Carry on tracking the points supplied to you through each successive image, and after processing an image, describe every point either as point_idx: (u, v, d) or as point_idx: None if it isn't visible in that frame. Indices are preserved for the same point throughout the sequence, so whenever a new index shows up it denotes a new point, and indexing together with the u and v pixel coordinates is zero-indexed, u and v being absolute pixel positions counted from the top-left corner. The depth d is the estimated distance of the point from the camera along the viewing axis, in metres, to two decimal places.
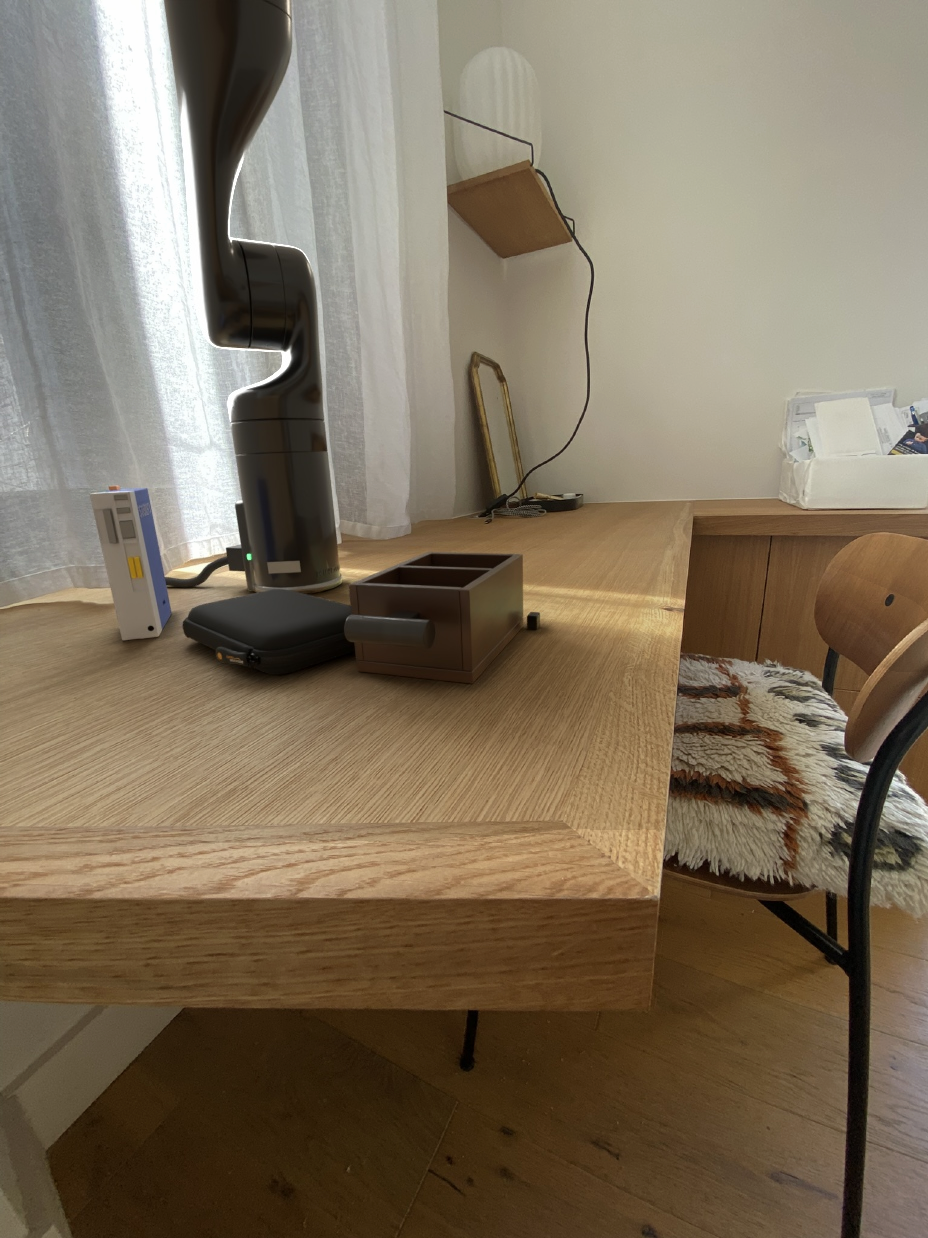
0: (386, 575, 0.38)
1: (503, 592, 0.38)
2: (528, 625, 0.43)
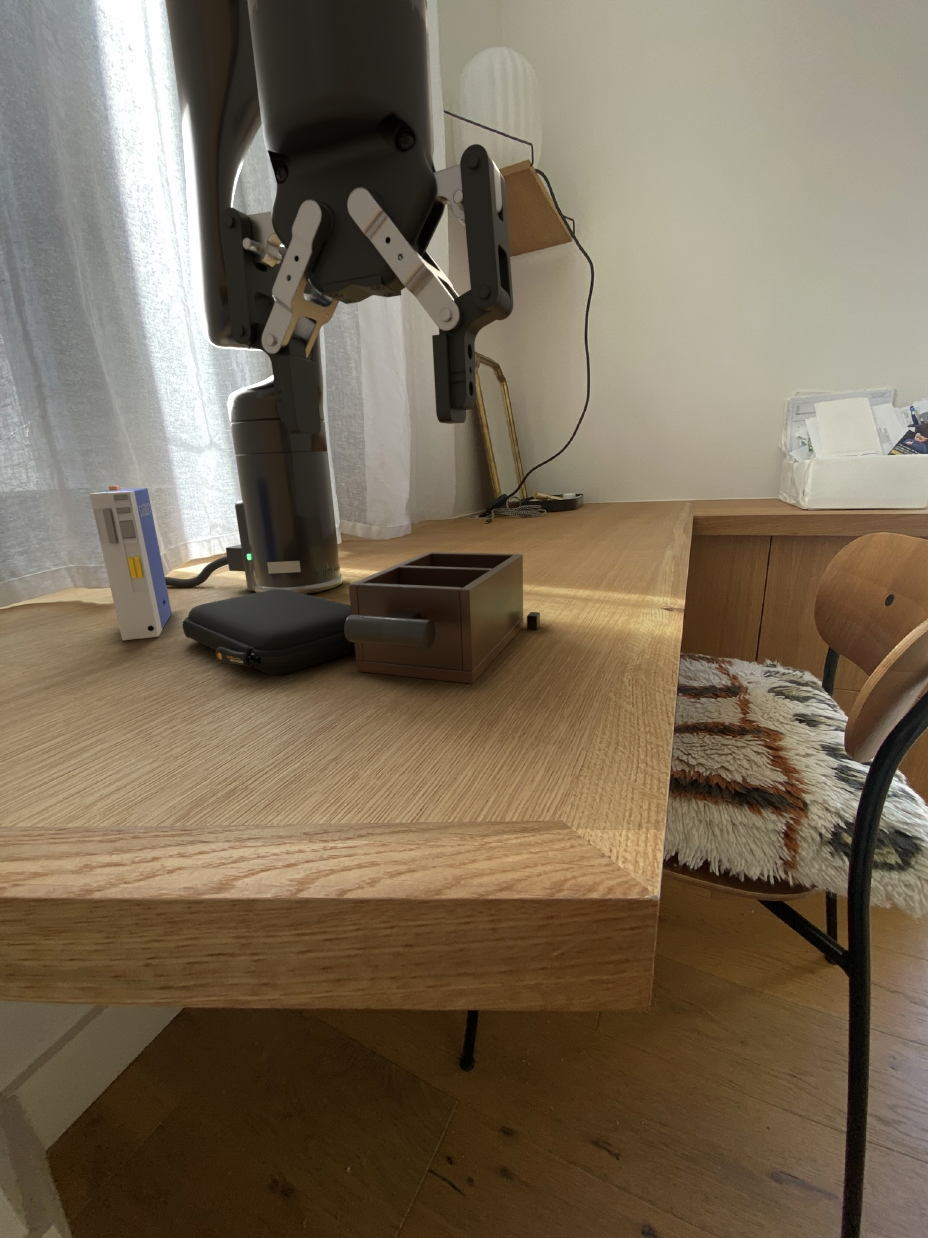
0: (386, 575, 0.38)
1: (503, 592, 0.38)
2: (528, 625, 0.43)
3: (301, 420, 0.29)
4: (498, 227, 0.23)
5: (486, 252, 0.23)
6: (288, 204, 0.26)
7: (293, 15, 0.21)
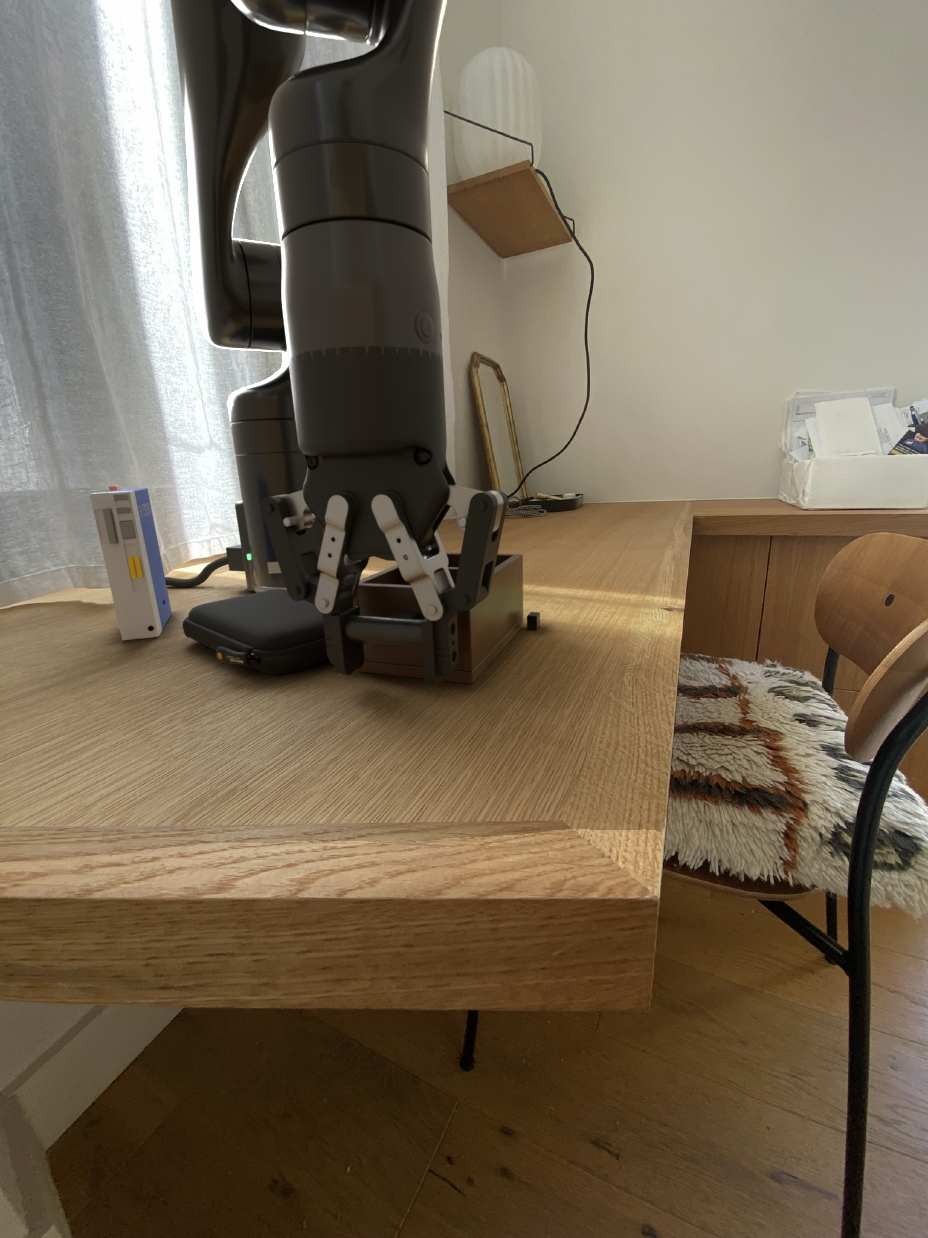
0: (386, 575, 0.38)
1: (503, 592, 0.38)
2: (528, 625, 0.43)
3: (348, 664, 0.32)
4: (489, 551, 0.28)
5: (473, 573, 0.27)
6: (316, 486, 0.29)
7: (328, 379, 0.24)
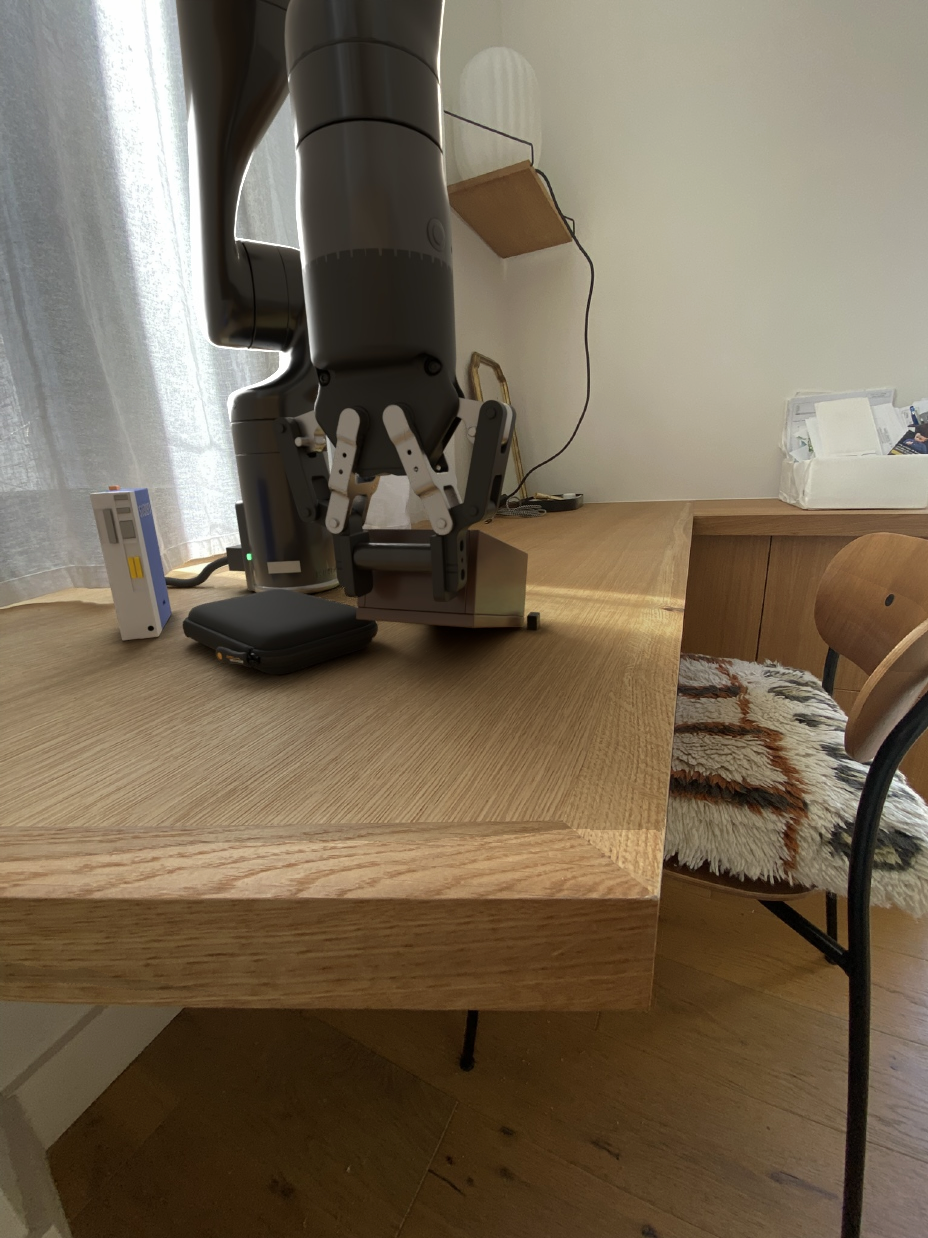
0: None
1: (508, 569, 0.39)
2: (528, 625, 0.43)
3: (358, 586, 0.33)
4: (498, 462, 0.28)
5: (482, 482, 0.28)
6: (328, 403, 0.30)
7: (342, 282, 0.25)
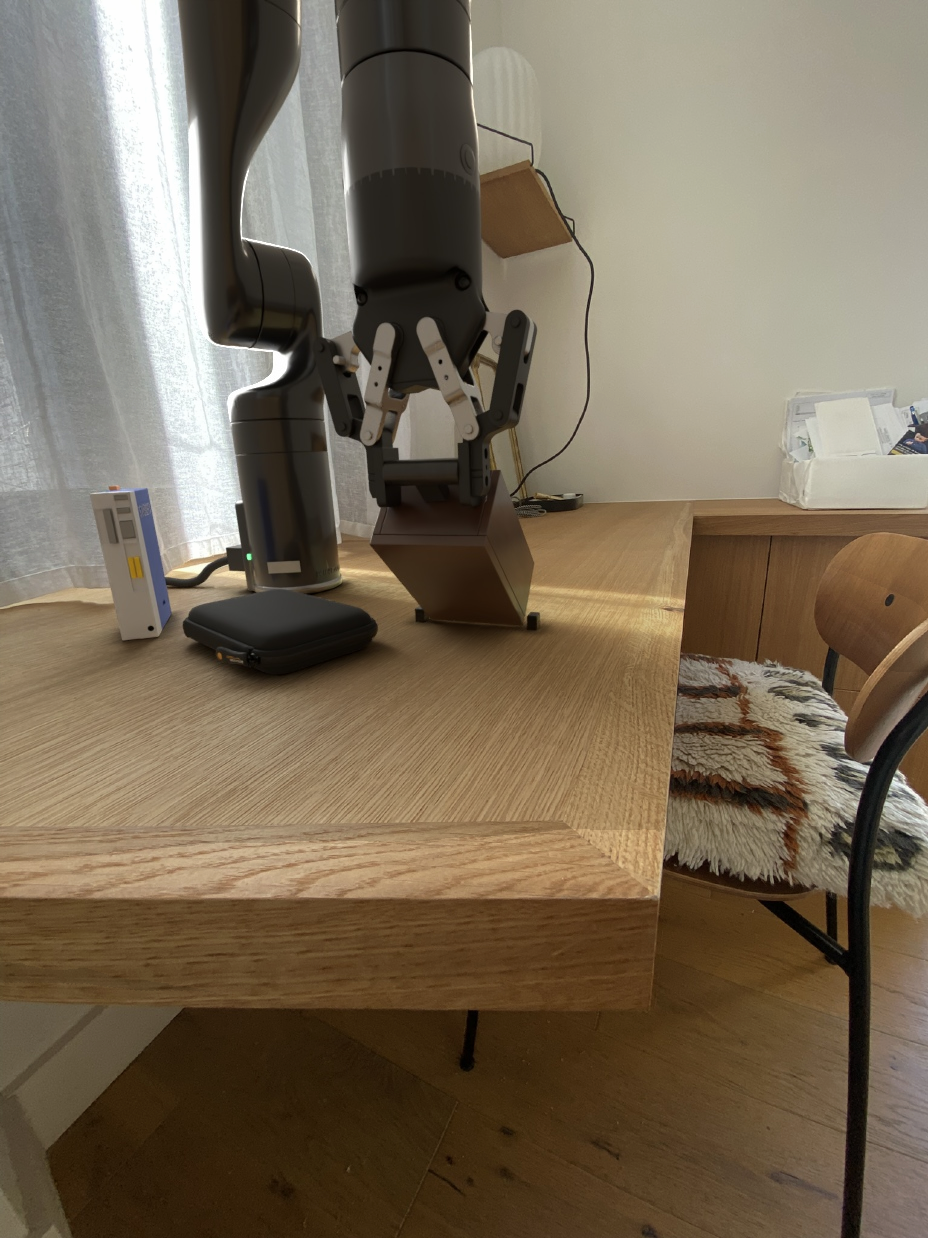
0: None
1: (518, 547, 0.41)
2: (528, 625, 0.43)
3: (389, 497, 0.36)
4: (521, 370, 0.31)
5: (507, 388, 0.31)
6: (365, 321, 0.33)
7: (384, 199, 0.28)
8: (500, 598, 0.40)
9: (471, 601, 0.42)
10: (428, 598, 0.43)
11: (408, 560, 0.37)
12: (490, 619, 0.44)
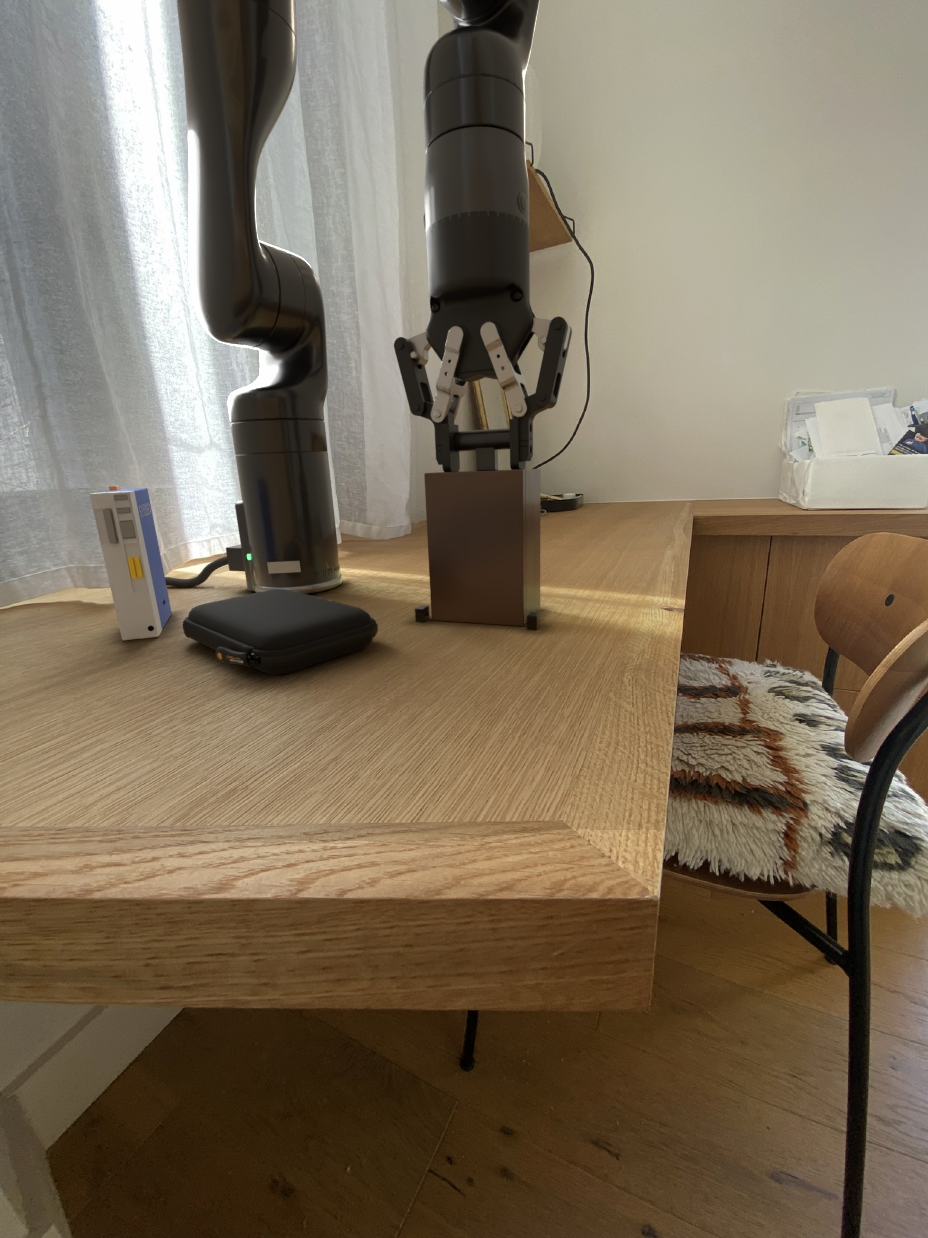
0: None
1: (535, 552, 0.46)
2: (528, 625, 0.43)
3: (452, 463, 0.45)
4: (560, 362, 0.40)
5: (550, 376, 0.40)
6: (437, 325, 0.42)
7: (461, 234, 0.37)
8: (514, 565, 0.43)
9: (484, 574, 0.44)
10: (443, 571, 0.45)
11: (449, 498, 0.43)
12: (493, 612, 0.45)
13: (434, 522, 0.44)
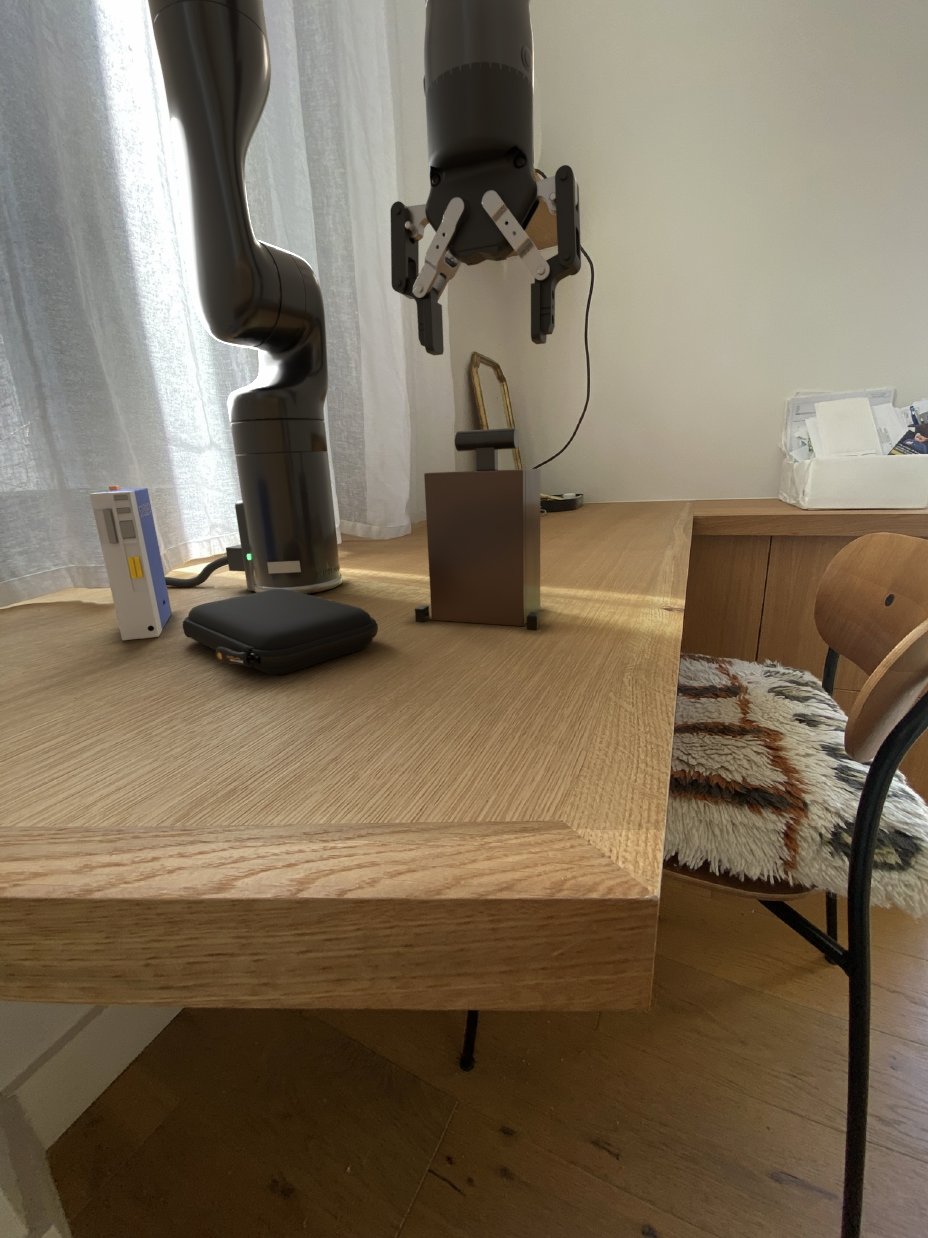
0: None
1: (535, 552, 0.46)
2: (528, 625, 0.43)
3: (435, 343, 0.44)
4: (576, 215, 0.38)
5: (569, 230, 0.38)
6: (439, 199, 0.40)
7: (462, 88, 0.36)
8: (514, 565, 0.43)
9: (484, 574, 0.44)
10: (443, 571, 0.45)
11: (449, 498, 0.43)
12: (493, 612, 0.45)
13: (434, 522, 0.44)
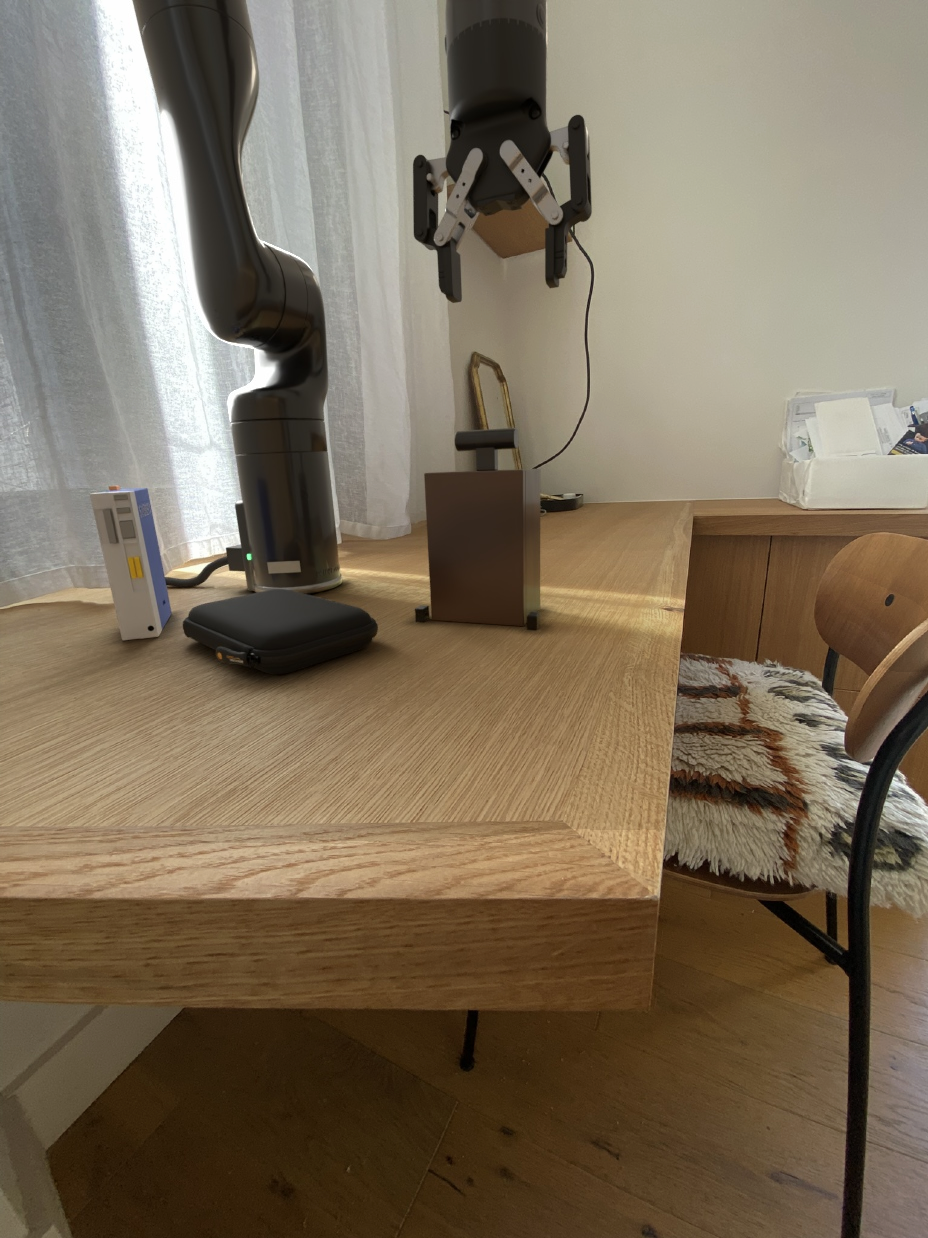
0: None
1: (535, 552, 0.46)
2: (528, 625, 0.43)
3: (454, 289, 0.47)
4: (587, 162, 0.41)
5: (581, 176, 0.41)
6: (458, 152, 0.43)
7: (482, 43, 0.39)
8: (514, 565, 0.43)
9: (484, 574, 0.44)
10: (443, 571, 0.45)
11: (449, 498, 0.43)
12: (493, 612, 0.45)
13: (434, 522, 0.44)
